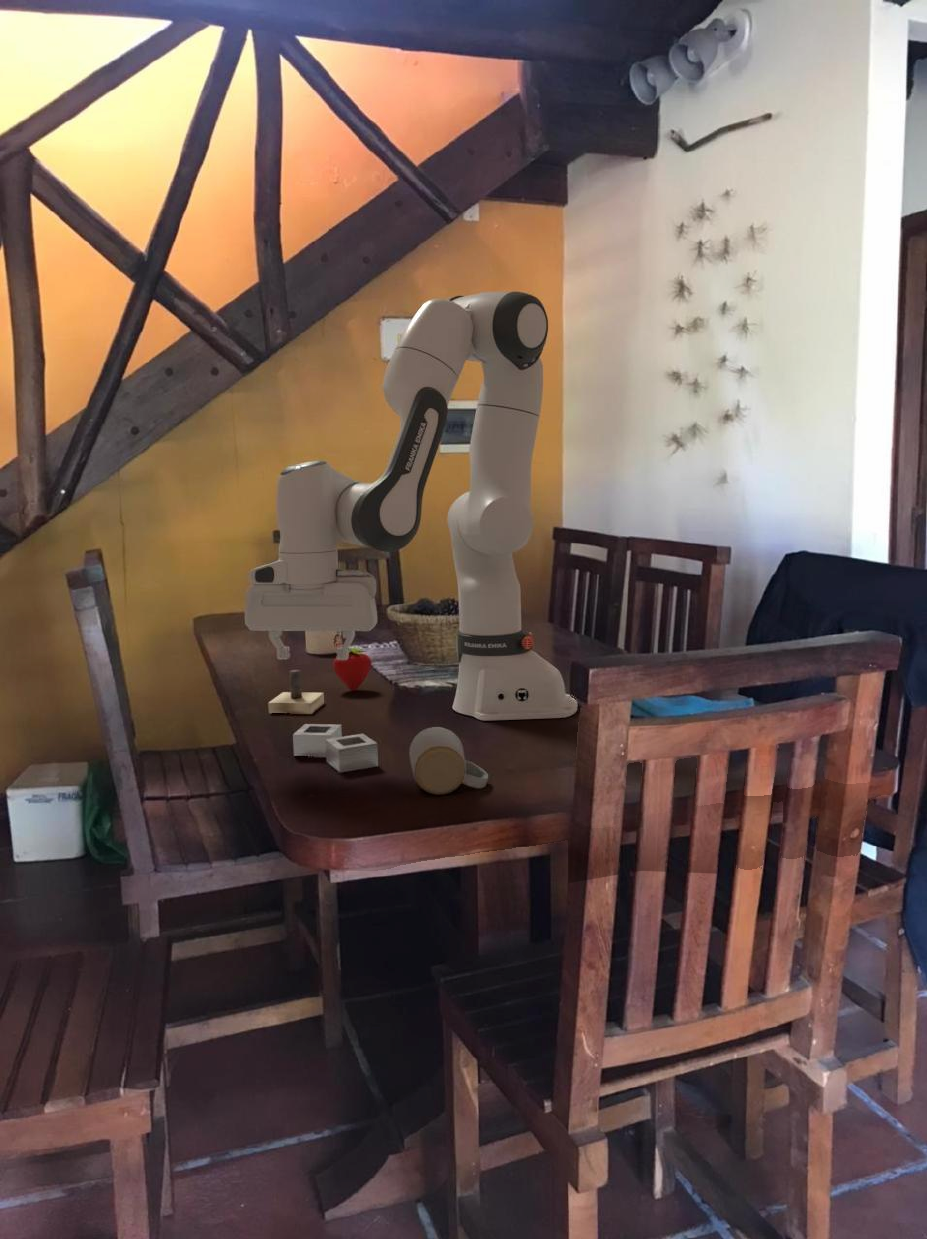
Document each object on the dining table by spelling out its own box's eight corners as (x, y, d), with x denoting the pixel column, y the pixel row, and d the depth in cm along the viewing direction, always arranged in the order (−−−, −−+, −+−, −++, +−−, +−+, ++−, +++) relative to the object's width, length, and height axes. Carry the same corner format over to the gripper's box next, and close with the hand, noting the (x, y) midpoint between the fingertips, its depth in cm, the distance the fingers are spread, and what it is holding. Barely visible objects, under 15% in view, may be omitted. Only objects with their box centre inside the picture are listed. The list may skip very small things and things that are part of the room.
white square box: (363, 755, 149) (362, 733, 148) (378, 766, 143) (377, 743, 143) (326, 761, 146) (325, 739, 145) (339, 772, 141) (338, 749, 140)
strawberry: (333, 688, 194) (331, 639, 192) (371, 686, 195) (369, 637, 193) (334, 695, 188) (332, 644, 186) (373, 692, 189) (371, 642, 187)
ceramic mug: (413, 799, 129) (412, 743, 128) (409, 779, 137) (408, 727, 136) (492, 795, 130) (492, 740, 129) (484, 776, 138) (483, 724, 137)
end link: (342, 745, 154) (341, 724, 153) (331, 757, 148) (330, 735, 148) (306, 745, 155) (304, 724, 154) (294, 756, 149) (292, 734, 149)
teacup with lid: (342, 654, 228) (340, 605, 227) (303, 655, 228) (301, 606, 226) (345, 644, 240) (342, 598, 238) (308, 646, 240) (305, 599, 238)
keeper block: (324, 703, 182) (322, 666, 181) (311, 714, 174) (309, 676, 173) (283, 702, 183) (281, 666, 182) (268, 713, 175) (266, 675, 174)
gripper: (380, 567, 148) (383, 655, 151) (253, 567, 151) (257, 654, 154) (370, 571, 142) (374, 664, 145) (237, 572, 145) (243, 662, 148)
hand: (313, 659), depth 149 cm, fingers open, 8 cm apart
